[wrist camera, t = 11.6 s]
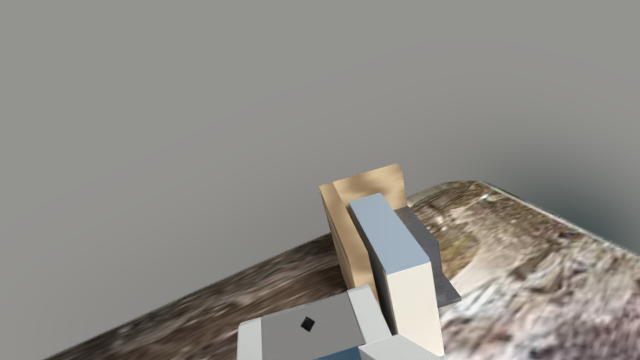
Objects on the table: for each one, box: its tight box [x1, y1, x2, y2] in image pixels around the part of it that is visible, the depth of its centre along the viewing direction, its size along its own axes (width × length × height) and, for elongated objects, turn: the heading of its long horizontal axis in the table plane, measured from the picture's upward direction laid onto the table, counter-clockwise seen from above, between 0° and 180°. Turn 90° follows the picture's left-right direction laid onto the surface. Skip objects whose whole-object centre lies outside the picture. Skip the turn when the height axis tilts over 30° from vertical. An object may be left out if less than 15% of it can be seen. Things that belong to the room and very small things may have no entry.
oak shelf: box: [319, 164, 407, 310], centre depth 49 cm, size 12×18×16 cm, turn 9°
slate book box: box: [349, 193, 444, 358], centre depth 48 cm, size 5×16×14 cm, turn 9°
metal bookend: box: [394, 206, 461, 308], centre depth 52 cm, size 5×10×10 cm, turn 9°
